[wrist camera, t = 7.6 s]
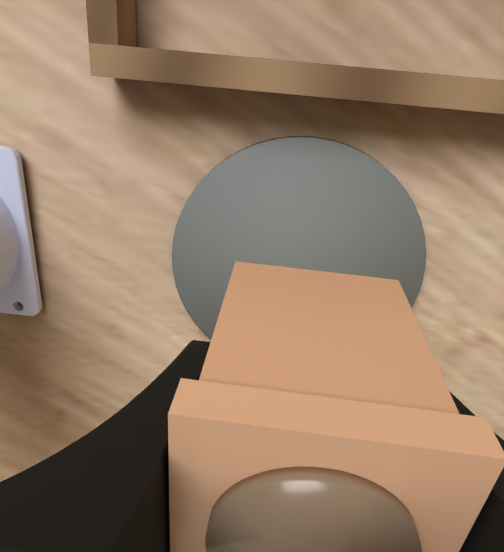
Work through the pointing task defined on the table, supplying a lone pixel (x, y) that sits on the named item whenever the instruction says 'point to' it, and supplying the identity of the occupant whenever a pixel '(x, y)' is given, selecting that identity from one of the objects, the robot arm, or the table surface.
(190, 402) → the orange block with dome
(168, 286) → the table surface
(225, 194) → the mat
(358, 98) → the cold frame
